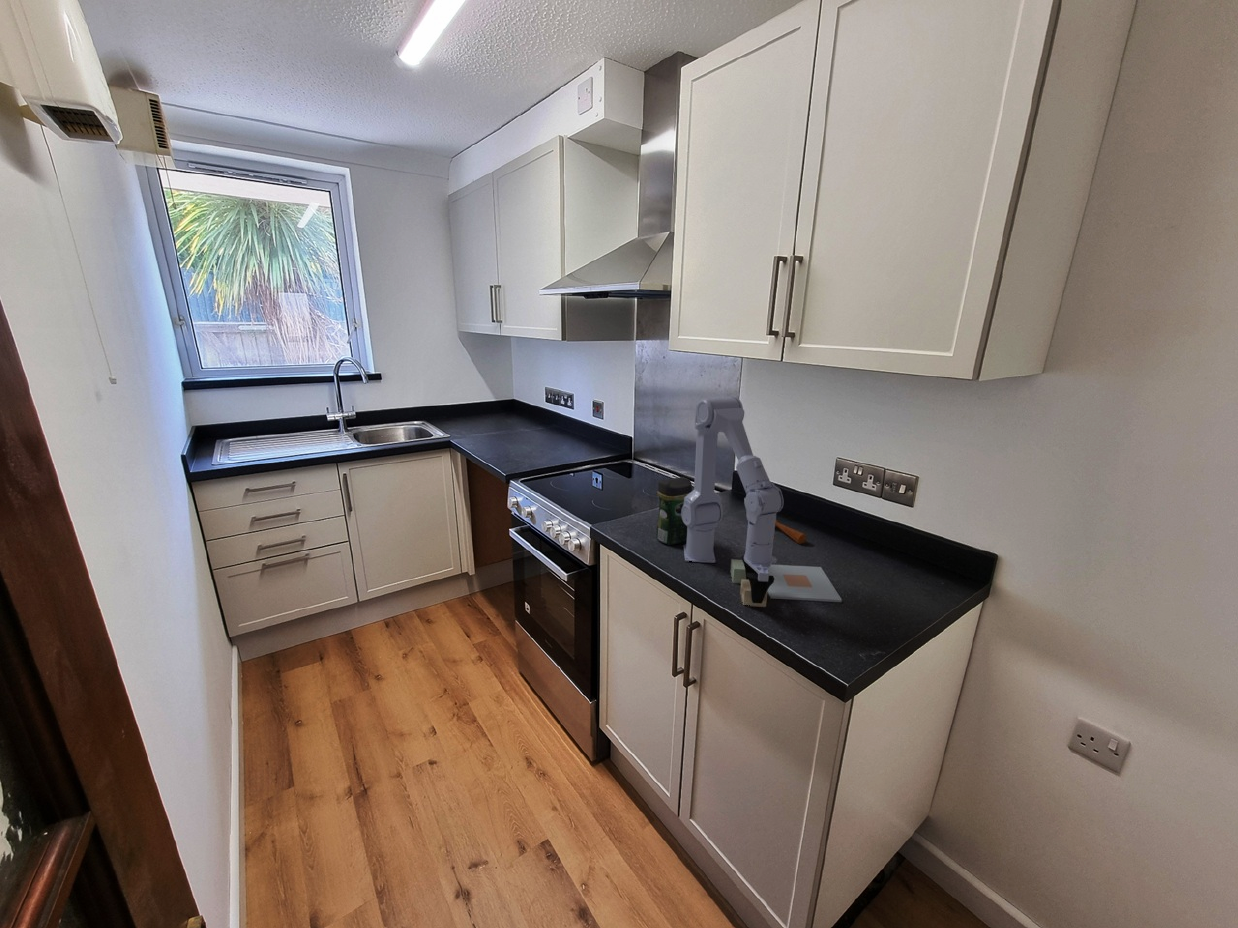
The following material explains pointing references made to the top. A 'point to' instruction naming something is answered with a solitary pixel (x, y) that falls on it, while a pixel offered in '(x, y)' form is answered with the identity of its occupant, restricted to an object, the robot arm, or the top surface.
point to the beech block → (749, 594)
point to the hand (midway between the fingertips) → (754, 594)
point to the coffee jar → (672, 510)
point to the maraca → (792, 533)
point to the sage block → (737, 571)
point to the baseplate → (801, 584)
